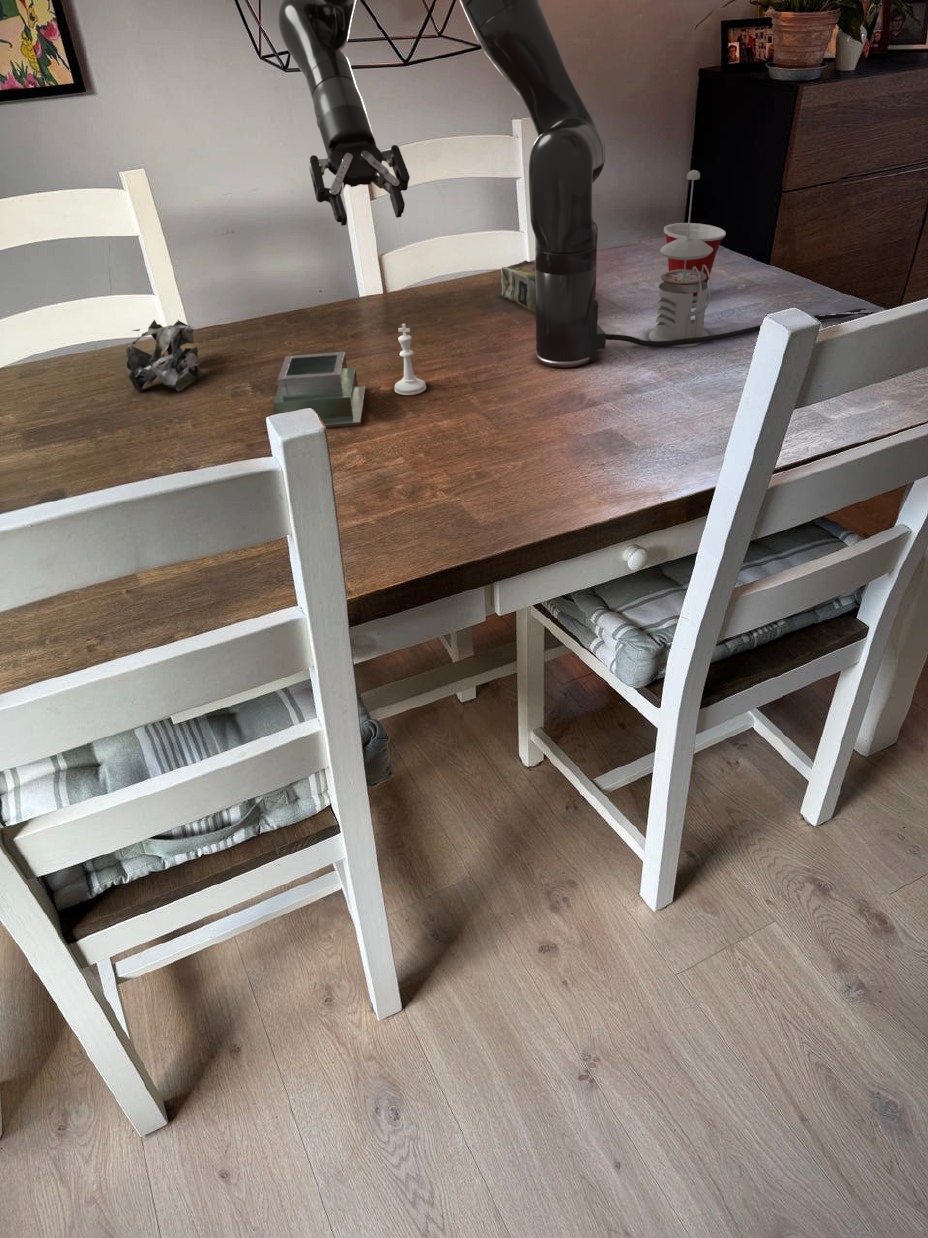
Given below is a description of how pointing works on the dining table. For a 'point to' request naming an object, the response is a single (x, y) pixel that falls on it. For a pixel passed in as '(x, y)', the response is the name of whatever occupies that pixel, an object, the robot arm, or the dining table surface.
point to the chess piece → (408, 368)
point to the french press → (683, 289)
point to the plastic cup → (696, 231)
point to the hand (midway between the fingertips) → (372, 218)
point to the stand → (321, 388)
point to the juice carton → (520, 284)
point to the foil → (165, 358)
